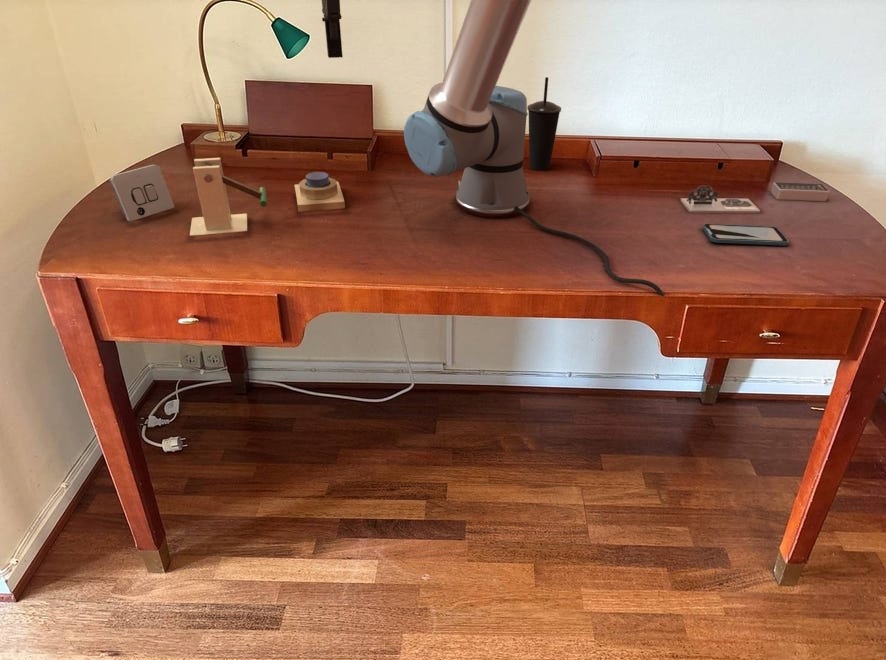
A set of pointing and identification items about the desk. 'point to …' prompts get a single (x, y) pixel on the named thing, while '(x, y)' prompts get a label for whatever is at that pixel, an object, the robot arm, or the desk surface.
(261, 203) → the lever
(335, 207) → the button box
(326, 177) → the button
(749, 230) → the smartphone
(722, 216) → the desk surface
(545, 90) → the drinking cup
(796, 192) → the multiport hub
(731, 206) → the car cutout
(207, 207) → the switch bracket
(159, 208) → the electrical switch
